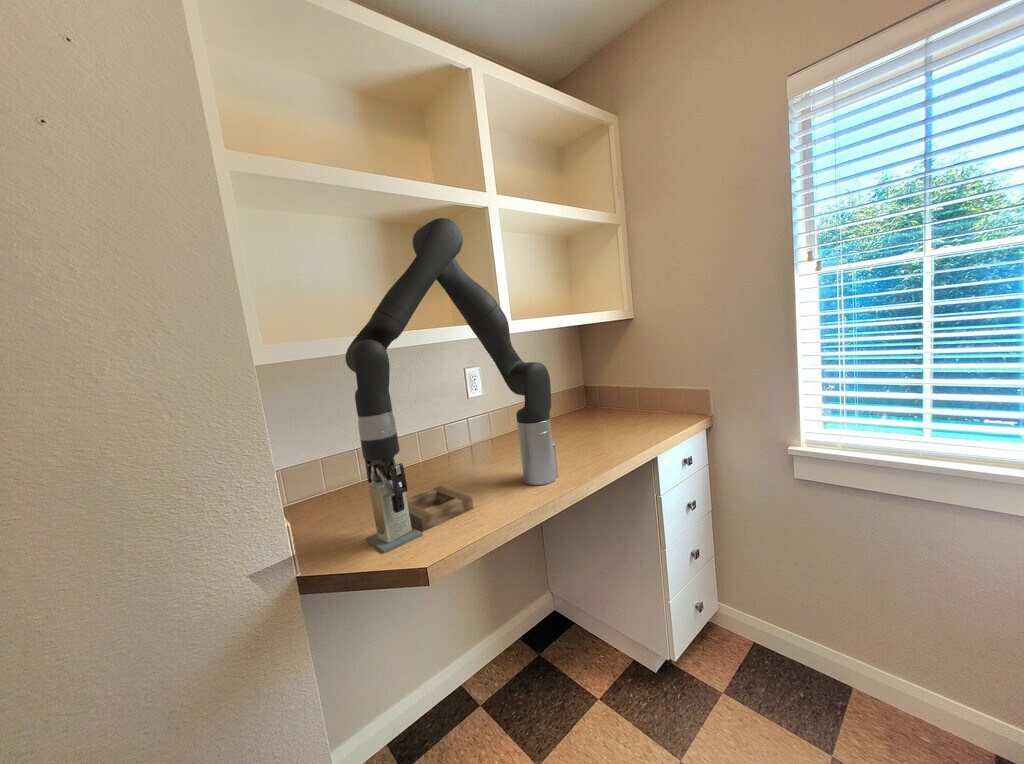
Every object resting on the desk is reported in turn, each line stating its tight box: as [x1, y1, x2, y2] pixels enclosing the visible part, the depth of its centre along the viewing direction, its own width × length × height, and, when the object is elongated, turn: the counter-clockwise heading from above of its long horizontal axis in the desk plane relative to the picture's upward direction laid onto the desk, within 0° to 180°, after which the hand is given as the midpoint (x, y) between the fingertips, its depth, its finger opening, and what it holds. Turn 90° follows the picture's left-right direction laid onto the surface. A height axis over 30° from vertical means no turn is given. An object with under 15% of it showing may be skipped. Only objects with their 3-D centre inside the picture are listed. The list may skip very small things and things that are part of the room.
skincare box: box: [368, 480, 412, 543], centre depth 87 cm, size 6×4×12 cm
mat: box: [365, 526, 424, 554], centre depth 88 cm, size 9×9×1 cm
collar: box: [407, 485, 474, 532], centre depth 99 cm, size 14×14×3 cm
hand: (390, 506), depth 87 cm, fingers open, 8 cm apart
